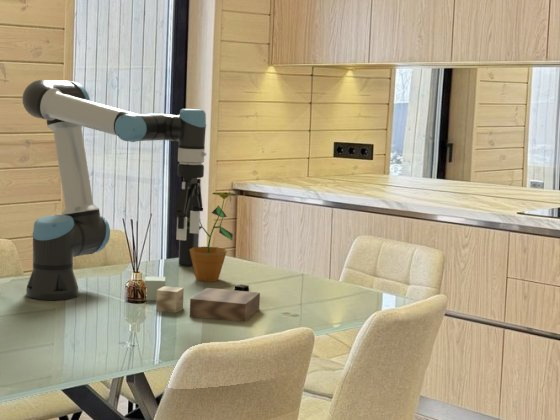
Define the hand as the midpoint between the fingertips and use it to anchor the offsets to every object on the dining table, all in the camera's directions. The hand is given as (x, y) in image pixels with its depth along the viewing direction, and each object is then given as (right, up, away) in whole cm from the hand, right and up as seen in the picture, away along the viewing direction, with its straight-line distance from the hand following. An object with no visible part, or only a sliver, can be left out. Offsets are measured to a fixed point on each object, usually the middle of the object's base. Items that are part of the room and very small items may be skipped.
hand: (187, 236), depth 277 cm
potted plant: (+2, -16, +43) cm, 46 cm away
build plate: (+15, -20, +16) cm, 30 cm away
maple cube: (-5, -21, -2) cm, 22 cm away
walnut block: (+11, -22, -3) cm, 25 cm away
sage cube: (-11, -19, +12) cm, 25 cm away
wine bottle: (-6, -12, +68) cm, 69 cm away
